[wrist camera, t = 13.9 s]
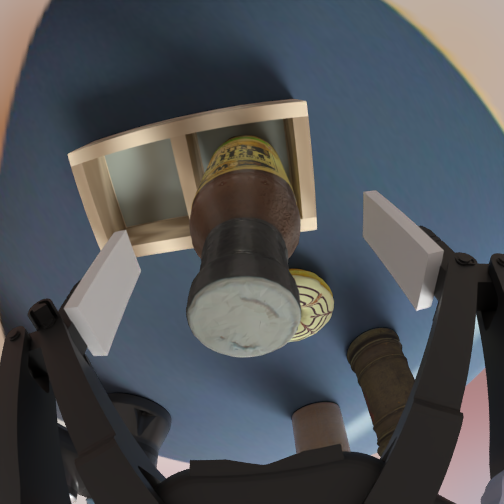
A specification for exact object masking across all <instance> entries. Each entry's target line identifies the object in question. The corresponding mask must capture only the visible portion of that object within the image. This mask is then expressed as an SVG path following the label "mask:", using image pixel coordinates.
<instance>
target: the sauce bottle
mask: <svg viewBox="0 0 504 504" xmlns="http://www.w3.org/2000/svg"><path fill="white" fill-rule="evenodd" d="M189 223H190V226H189V228H190V235H191V239H192V245H193V247H194V250H195V251H196V253H197V255H198V256H199V257H200V258H201V262H202V263H201V266H200V272H199V273H198V274H197V276H196V277H195V278H194V280H193V282H192V285H191V288H190V291H189V296H188V303H187V307H186V316H187V320H188V325H189V327H190V328H191V330H192V333H193V334H194V336H195V337H197V338H198V339H199V340H200V342H201V343H203V344H204V345H205V346H206V347H208V348H210V349H212V350H214V351H216V352H218V353H222V354H225V355H229V356H233V357H254V356H260V355H264V354H267V353H270V352H273V351H274V350H277V349H279V348H281V347H283V346H284V345H285V344H287V343H288V342H289V341H290V340H291V339H292V337H293V336H294V335H295V333H296V331H297V330H298V326H299V324H300V321H301V317H302V316H301V305H300V296H299V290H298V288H297V284H296V281H295V279H294V278H293V276H292V275H291V273H290V272H289V266H288V259H289V258H290V257H291V255H292V254H293V252H294V250H295V248H296V247H297V245H298V242H299V236H300V227H301V220H300V215H299V209H298V207H297V202H296V198H295V195H294V192H293V189H292V187H291V184H290V182H289V180H288V177H287V175H286V173H285V170H284V168H283V165H282V163H281V161H280V158H279V156H278V154H277V152H276V151H275V150H274V148H273V147H272V146H271V145H270V144H269V143H268V142H267V141H265V140H263V139H261V138H260V137H258V136H254V135H239V136H233V137H231V138H229V139H228V140H226V141H225V142H224V143H223V144H221V145H220V146H219V147H218V148H217V150H216V151H215V152H214V154H213V156H212V158H211V160H210V162H209V165H208V167H207V169H206V172H205V174H204V176H203V178H202V180H201V183H200V185H199V188H198V190H197V192H196V195H195V197H194V200H193V202H192V206H191V215H190V220H189Z"/></svg>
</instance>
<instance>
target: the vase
mask: <svg viewBox="0 0 504 504" xmlns="http://www.w3.org/2000/svg"><path fill="white" fill-rule="evenodd" d="M292 424H293V432H294V439H295V446H296V453H300V452H302V451H306V450H311V449H316V448H322V447H326V446H331V445H336V444H341V448H342V451H350V447H349V443H348V439H347V435H346V430H345V426H344V422H343V418H342V414H341V411H340V408H339V406H338V405H337V404H335V403H332V402H319V403H313V404H310V405H307V406H304V407H302V408H300V409H298V410H297V411H296V412H295V413H294V414H293V416H292ZM350 452H351V451H350Z"/></svg>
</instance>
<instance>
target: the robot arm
mask: <svg viewBox="0 0 504 504" xmlns="http://www.w3.org/2000/svg"><path fill="white" fill-rule="evenodd" d="M363 237H364V239H365V240H366V241H367V243H368V244H369V245H370V247H371V248H372V249H373V250H374V252H375V253H376V254H377V256H378V257H379V258H380V260H381V261H382V263H383V264H384V265H385V267H386V268H387V269H388V271H389V272H390V273H391V275H392V276H393V278H394V279H395V280H396V282H397V283H398V285H399V286H400V288H401V289H402V290H403V292H404V293H405V295H406V296H407V298H408V299H409V301H410V302H411V304H412V305H413V306H414V308H415V309H416V311H417V310H421V309H424V308H428V307H431V304H432V300H433V297H434V296H435V297H436V298H437V300H438V304H437V308H436V311H435V315H434V318H433V324H432V328H431V331H430V335H429V339H428V342H427V345H426V349H425V352H424V355H423V358H422V361H421V364H420V367H419V370H418V373H417V376H416V379H415V382H414V385H413V387H412V390H411V393H410V395H409V398H408V400H407V403H406V405H405V408H404V410H403V412H402V415H401V417H400V419H399V422H398V424H397V426H396V429H395V431H394V433H393V435H392V437H391V439H390V441H389V443H388V445H387V447H386V449H385V450H384V452H383V454H382V456H381V458H380V459H377V458H375V457H373V456H370V455H367V454H363V453H358V452H350V451H342V448H341V444H336V445H331V446H326V447H322V448H316V449H311V450H306V451H302V452H300V453H297V454H295V455H292V456H289V457H287V458H284V459H281V460H279V461H276V462H273V463H270V464H267V465H259V464H251V463H244V462H237V461H231V460H190V469H186V470H183V471H181V472H178V473H176V474H174V475H171V476H170V477H168V478H167V479H166V478H165V477H164V476H163V475H162V474H161V473H160V472H159V471H158V470H157V458H158V452H159V449H160V447H161V445H162V443H163V442H164V440H165V438H166V436H167V434H168V432H169V430H170V427H171V416H170V414H169V413H168V412H167V411H166V410H165V409H164V408H163V407H161V406H159V405H158V404H156V403H154V402H152V401H150V400H147V399H145V398H142V397H138V396H135V395H130V394H124V393H111V394H107V393H106V391H105V389H104V388H103V386H102V384H101V382H100V380H99V378H98V377H97V375H96V373H95V371H94V369H93V367H92V365H91V363H90V361H89V359H88V357H87V356H86V355H85V351H86V349H87V347H88V348H89V350H90V351H91V353H92V354H93V356H107V355H108V353H109V350H110V347H111V344H112V342H113V339H114V336H115V334H116V331H117V328H118V326H119V323H120V321H121V318H122V315H123V313H124V310H125V308H126V305H127V303H128V301H129V298H130V296H131V293H132V291H133V289H134V286H135V284H136V282H137V279H138V277H139V275H140V272H141V269H140V267H139V264H138V262H137V259H136V256H135V254H134V251H133V248H132V245H131V243H130V240H129V237H128V234H127V231H126V230H122V231H118V232H114V233H113V235H112V236H111V237H110V239H109V240H108V242H107V243H106V244H105V246H104V247H103V249H102V250H101V252H100V253H99V254H98V256H97V257H96V259H95V260H94V262H93V263H92V265H91V266H90V268H89V269H88V271H87V272H86V274H85V275H84V277H83V278H82V279H81V280H80V281H79V282H78V283H77V284H76V285H74V287H73V288H72V290H71V291H70V294H69V295H68V296H67V299H65V301H64V303H63V304H62V306H61V308H60V309H59V311H57V309H56V307H55V306H54V304H53V302H52V301H51V299H43V300H40V301H38V302H37V303H36V304H34V305H33V306H32V307H31V308H30V310H29V312H28V317H29V319H30V320H31V322H32V323H33V325H34V326H35V328H36V329H37V331H35V332H32V333H29V334H28V332H27V331H26V329H25V328H24V327H23V326H19V327H16V328H13V329H12V330H11V331H10V332H9V333H8V335H7V336H6V338H5V342H4V346H3V351H2V356H1V362H0V504H72V503H74V502H76V500H77V494H79V495H82V496H84V497H87V499H86V501H87V504H455V503H454V502H452V501H450V500H448V499H446V498H444V497H442V496H440V495H439V494H438V492H439V489H440V487H441V485H442V482H443V480H444V477H445V475H446V472H447V469H448V467H449V464H450V461H451V458H452V455H453V452H454V449H455V446H456V443H457V439H458V436H459V433H460V430H461V426H462V422H463V413H461V412H460V408H461V403H462V399H463V394H464V390H465V386H466V381H467V376H468V370H469V364H470V358H471V352H472V345H473V337H474V328H475V318H476V315H477V320H478V325H479V330H480V335H481V341H482V347H483V353H484V360H485V368H486V376H487V386H488V399H489V417H490V418H489V421H490V447H489V450H490V451H489V456H490V458H489V459H490V462H489V463H490V464H489V465H490V478H491V480H490V481H489V483H488V485H487V486H486V489H485V492H484V494H483V496H482V497H481V504H504V254H500V253H496V254H493V255H492V256H491V258H490V262H489V264H477V261H476V260H475V259H474V258H473V257H472V256H470V255H468V254H465V253H460V252H458V253H455V252H454V251H453V250H452V249H451V248H449V247H448V246H447V245H446V244H445V243H444V242H443V241H441V239H440V238H439V237H438V236H437V237H436V235H435V234H434V233H433V232H432V231H431V230H429V229H427V228H425V227H423V226H417V225H416V224H415V223H414V222H413V221H412V220H410V219H409V218H408V217H407V216H406V215H405V214H404V213H402V212H401V211H400V210H399V209H398V208H397V207H395V206H394V205H393V204H392V203H391V202H389V201H388V200H387V199H386V198H385V197H383V196H382V195H381V194H380V193H378V192H377V191H366V192H364V203H363ZM56 401H57V403H58V406H59V409H60V412H61V415H62V417H63V420H64V422H65V425H66V427H67V428H66V427H64V426H62V425H60V424H59V423H57V412H56Z"/></svg>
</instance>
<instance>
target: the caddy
mask: <svg viewBox="0 0 504 504" xmlns="http://www.w3.org/2000/svg"><path fill="white" fill-rule="evenodd" d="M239 135H254V136H258V137H260V138H261V139H263V140H265V141H267V142H268V143H269V144H270V145H271V146H272V147H273V148H274V150H275V151H276V152H277V154H278V156H279V158H280V161H281V163H282V165H283V168H284V170H285V173H286V175H287V177H288V180H289V182H290V184H291V187H292V189H293V192H294V195H295V198H296V202H297V207H298V209H299V215H300V220H301V227H300V232H303V231H310V230H317V219H316V202H315V187H314V173H313V161H312V150H311V139H310V130H309V120H308V111H307V103H306V101H303V100H297V99H287V100H277V101H268V102H260V103H253V104H246V105H239V106H233V107H227V108H221V109H216V110H210V111H205V112H200V113H195V114H190V115H186V116H181V117H177V118H173V119H168V120H164V121H160V122H156V123H153V124H149V125H145V126H141V127H138V128H134V129H131V130H127V131H124V132H121V133H118V134H114V135H111V136H108V137H105V138H102V139H99V140H96V141H93V142H91V143H89V144H87V145H85V146H83V147H81V148H79V149H77V150H74V151H72V152H71V153H69V154H68V158H69V161H70V165H71V168H72V171H73V175H74V178H75V181H76V184H77V187H78V190H79V193H80V196H81V199H82V202H83V205H84V208H85V211H86V214H87V216H88V219H89V222H90V224H91V227H92V230H93V232H94V235H95V237H96V240H97V242H98V245H99V247H100V250H102V249H103V247H104V246H105V244H106V243H107V242H108V240H109V239H110V237H111V236H112V235H113V233H114V232H118V231H122V230H126V231H127V234H128V237H129V240H130V243H131V245H132V248H133V251H134V254H135V256H136V257H139V256H146V255H152V254H158V253H164V252H171V251H177V250H183V249H190V248H194V247H193V245H192V239H191V235H190V228H189V226H190V223H189V220H190V215H191V206H192V202H193V200H194V197H195V195H196V192H197V190H198V188H199V185H200V183H201V180H202V178H203V176H204V174H205V172H206V169H207V167H208V165H209V162H210V160H211V158H212V156H213V154H214V152H215V151H216V150H217V148H218V147H219V146H220V145H221V144H223V143H224V142H225V141H226V140H228V139H229V138H231V137H233V136H239Z"/></svg>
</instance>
